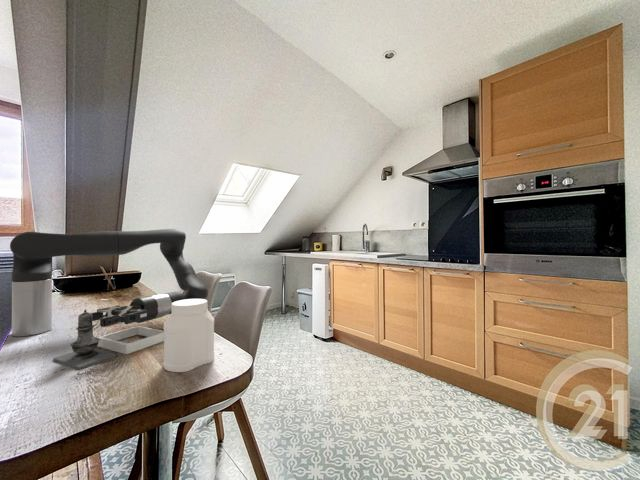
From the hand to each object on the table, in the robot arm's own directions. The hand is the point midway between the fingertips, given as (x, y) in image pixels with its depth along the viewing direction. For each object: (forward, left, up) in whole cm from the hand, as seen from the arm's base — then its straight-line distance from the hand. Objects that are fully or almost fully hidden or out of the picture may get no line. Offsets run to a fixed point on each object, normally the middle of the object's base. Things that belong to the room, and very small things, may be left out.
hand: (91, 321), depth 73 cm
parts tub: (0, +11, -9) cm, 14 cm away
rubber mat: (0, -1, -9) cm, 9 cm away
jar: (+26, +9, -9) cm, 29 cm away
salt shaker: (0, -1, -9) cm, 9 cm away
